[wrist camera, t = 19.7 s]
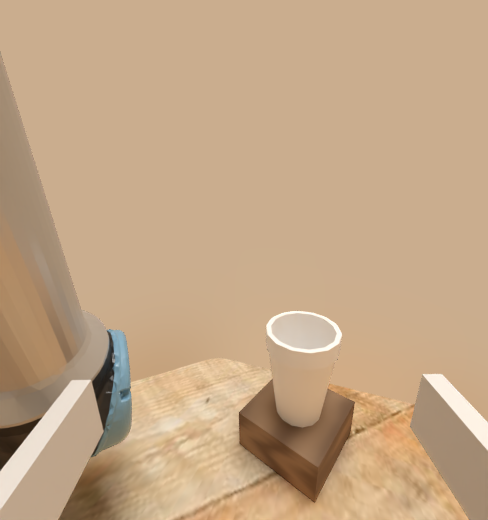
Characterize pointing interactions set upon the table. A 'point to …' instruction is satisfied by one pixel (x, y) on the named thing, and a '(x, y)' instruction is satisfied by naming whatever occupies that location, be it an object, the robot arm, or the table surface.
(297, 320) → the foam cup
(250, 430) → the walnut block
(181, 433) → the table surface
